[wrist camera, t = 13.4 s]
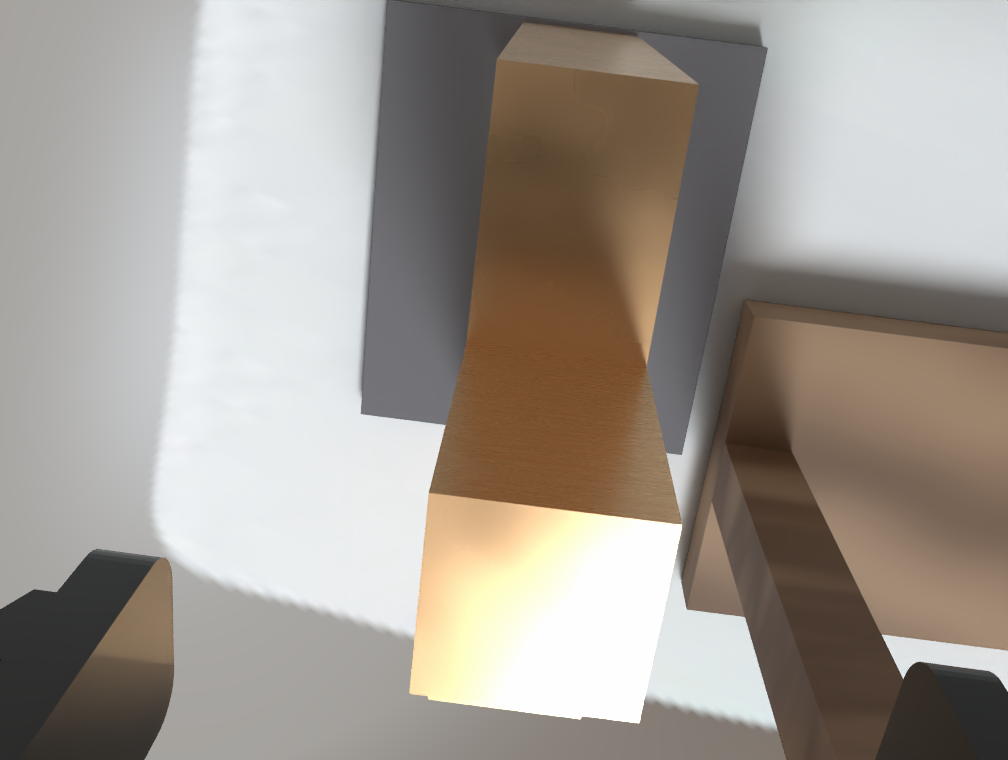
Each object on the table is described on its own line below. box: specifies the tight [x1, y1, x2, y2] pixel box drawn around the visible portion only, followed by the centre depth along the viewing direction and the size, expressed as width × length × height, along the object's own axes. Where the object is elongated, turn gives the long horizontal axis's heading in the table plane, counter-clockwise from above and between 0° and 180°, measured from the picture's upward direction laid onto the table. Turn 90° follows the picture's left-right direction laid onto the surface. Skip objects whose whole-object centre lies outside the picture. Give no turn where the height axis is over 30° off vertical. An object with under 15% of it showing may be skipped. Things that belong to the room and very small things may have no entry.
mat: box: [361, 0, 768, 455], centre depth 28 cm, size 12×10×1 cm
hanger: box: [409, 22, 699, 723], centre depth 20 cm, size 12×3×17 cm, turn 173°
